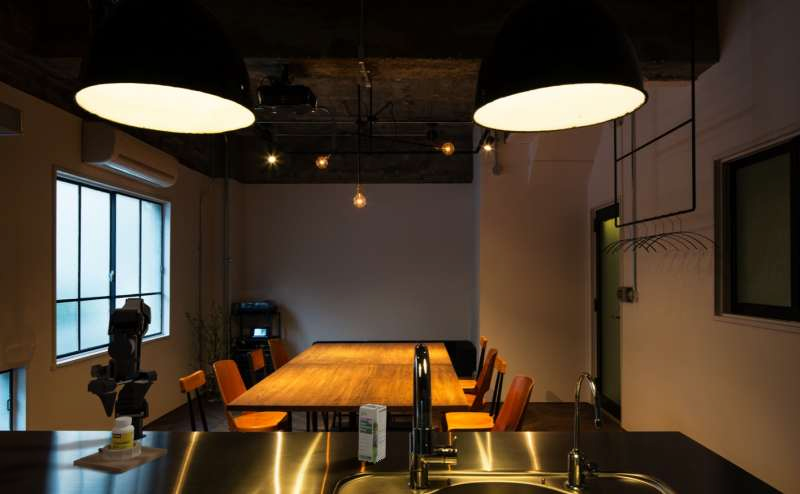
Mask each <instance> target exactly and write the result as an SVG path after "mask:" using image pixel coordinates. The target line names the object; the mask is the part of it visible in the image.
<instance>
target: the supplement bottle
mask: <svg viewBox="0 0 800 494" xmlns="http://www.w3.org/2000/svg"><path fill="white" fill-rule="evenodd" d="M131 422H132V418H131V417H119V418H116V419H115V418H114V425H115V426H114V427H113V428H112V429H111V442H110V443H111V450H123V449H129V448H132V447H133V441H134V427H133V426H132V425H130V424H131Z"/></svg>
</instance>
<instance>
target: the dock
mask: <svg viewBox="0 0 800 494" xmlns="http://www.w3.org/2000/svg"><path fill="white" fill-rule="evenodd" d="M167 454H168V449H167V448H160V447H159V448H158V447H152V446H145V445H142V443H141V442H140V441H139V440H135V441H133V447H132V448H129V449H123V450H111V442H110V443H109V444H105V445H104V446H103V447H99V448H98V449H97V452H94V453H91V454H88V455H86V456H84V457H80V458H77V459H75V460H73V461H72V462H73V466H74V467H79V468H85V469H91V470H97V471H102V472H108V473H109V472H110V473H112V474H113V473H115V474H120V475H121V474H125V473H126V472H128V471H131V470H133V469H135V468H137V467H140V466H142V465H144V464H147V463H149V462H153V461H154V460H156V459H159V458H162V457H164V456H166V455H167Z"/></svg>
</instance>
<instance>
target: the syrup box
mask: <svg viewBox="0 0 800 494" xmlns="http://www.w3.org/2000/svg"><path fill="white" fill-rule="evenodd" d="M358 409H359V410H358V411H359V412H358V413H359V417H358V418H359V420H358V455H357V456H358V461H362V460H363V461H362V462H367V461H368V462H367V463H371V462H373V463H372V464H377V463H379V462H380V461H382V460H383V459H385V458H386V446H387V445H386V443H387V442H386V439H387V437H386V435H387V432H386V430H387V405H380V404H374V403H373V404H372V403H366V404H363V405H361V406H360V407H359V408H358ZM381 459H382V460H381ZM379 460H380V461H379ZM378 461H379V462H378ZM376 462H377V463H376Z"/></svg>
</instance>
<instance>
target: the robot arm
mask: <svg viewBox="0 0 800 494" xmlns="http://www.w3.org/2000/svg"><path fill="white" fill-rule="evenodd" d="M150 325H152V309H151V306H149V305H148V304H147V303H146V302H145V299H144V298H142V297H128V298H126V299H125V302H124V305H123V306H122V307H117V308H114V309H113V312H110V315H109V322H108V327H107V328H108V329H107V336H113V339H112V341H111V342H110V343H109V344H108V346H107V354H108V356H109V357H110V359H109V360H108V364H107V365H102V364H101V363H99V364H95V365H91V366H90V376H91V378H96V379H93V380H90V381H89V382H88V383H87V392H89V393H91V394H92V395H96V396H97V397H98V398H99V400H100V402H101V404H102V406H103V409H104V412H105V415H106V417H108V418H111V417H112V415H113V412H114V420H115V419H116V418H119V417H131V418H132V422H131V424H130V425H132V426H133V427H134V441H139V440H140V439H144V438H146V437H147V436H148V435H147V434H145V433H143V431H144V429H143V427H144V420H145V419H146V418H149V417H150V406H149V402H148V399H147V398H146V397H145V396H146V395H147V394H148V392H149V390H150V388H151V387H152V385H154V383H155V381H158V373H157V371H156V370H155V369H154V370H153V369H144V368H143V369H141V367H142V357H143V356H142V352H143V338H144V337H145V336H146V334H147V333H148V331H149V327H150ZM121 385H123V386H122V388H121V389H120V390H119V392H118V391H116V390H117V387H118V386H121ZM116 398H117V399H116Z"/></svg>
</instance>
